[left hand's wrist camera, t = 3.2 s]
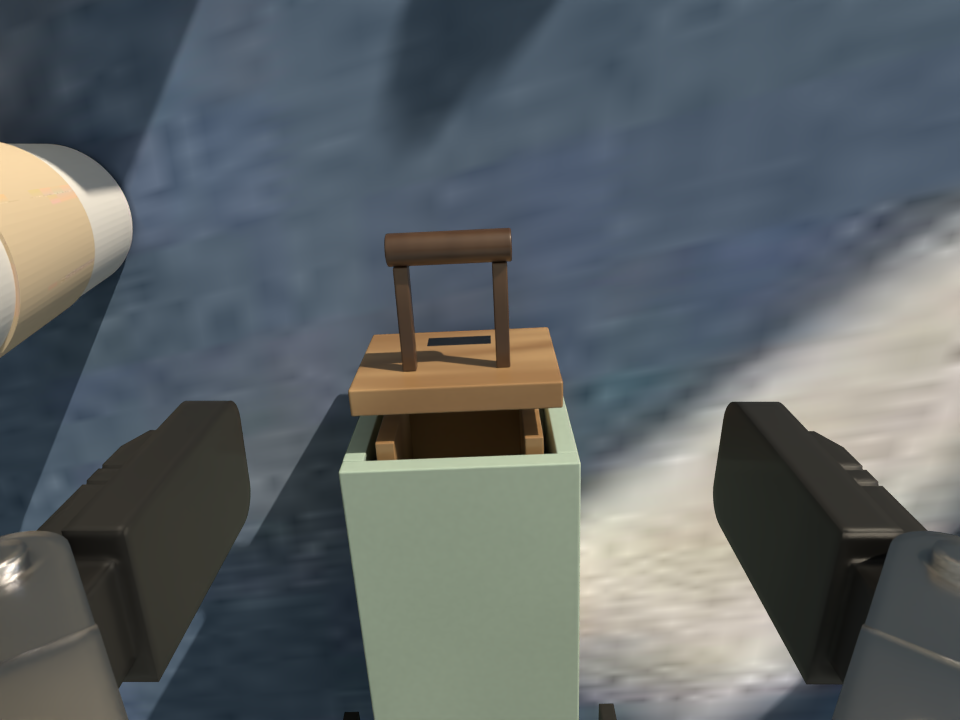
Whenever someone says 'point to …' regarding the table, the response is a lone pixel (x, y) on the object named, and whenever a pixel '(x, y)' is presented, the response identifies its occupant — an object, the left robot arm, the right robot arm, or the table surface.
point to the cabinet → (467, 578)
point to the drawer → (456, 365)
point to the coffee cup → (54, 234)
